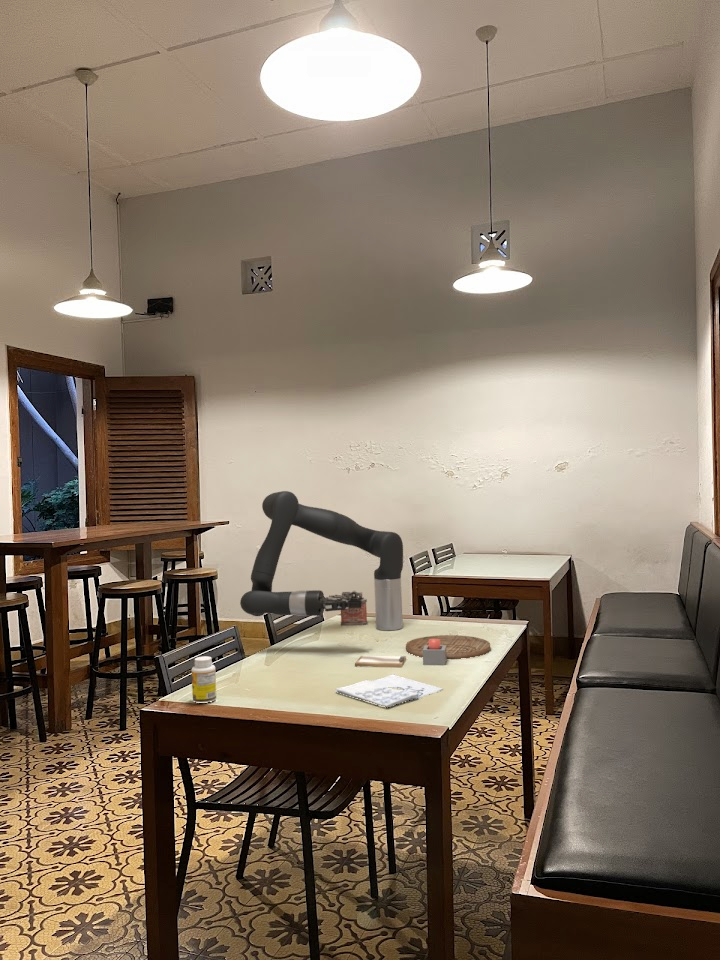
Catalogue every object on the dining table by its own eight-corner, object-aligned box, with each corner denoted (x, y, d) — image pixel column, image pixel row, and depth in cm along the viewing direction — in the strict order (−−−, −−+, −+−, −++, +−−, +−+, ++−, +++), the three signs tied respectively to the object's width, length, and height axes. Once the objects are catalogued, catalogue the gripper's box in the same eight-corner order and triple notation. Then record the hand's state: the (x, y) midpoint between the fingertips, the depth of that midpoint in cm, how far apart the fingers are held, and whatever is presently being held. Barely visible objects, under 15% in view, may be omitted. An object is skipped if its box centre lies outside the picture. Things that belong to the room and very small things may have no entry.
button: (429, 653, 205) (429, 638, 205) (441, 653, 204) (440, 638, 204) (428, 656, 201) (427, 641, 201) (440, 656, 201) (439, 641, 201)
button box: (425, 659, 206) (424, 645, 206) (446, 659, 205) (446, 645, 205) (423, 664, 200) (422, 650, 200) (445, 665, 199) (444, 650, 199)
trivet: (418, 639, 234) (418, 633, 234) (497, 643, 225) (496, 637, 225) (395, 658, 210) (395, 651, 210) (481, 662, 202) (481, 656, 202)
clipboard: (361, 658, 210) (361, 653, 210) (406, 659, 207) (405, 654, 207) (354, 666, 201) (354, 661, 201) (401, 667, 198) (401, 662, 198)
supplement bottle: (195, 698, 176) (194, 655, 176) (218, 697, 176) (217, 654, 176) (190, 705, 171) (188, 661, 171) (213, 704, 170) (212, 660, 170)
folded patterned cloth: (333, 695, 177) (333, 686, 177) (394, 678, 190) (394, 670, 190) (386, 712, 162) (385, 702, 162) (448, 693, 175) (448, 684, 175)
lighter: (368, 623, 219) (366, 589, 219) (367, 625, 215) (365, 591, 215) (341, 623, 220) (340, 590, 220) (340, 626, 216) (338, 592, 216)
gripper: (299, 594, 213) (357, 594, 210) (312, 586, 227) (366, 586, 224) (301, 620, 213) (358, 620, 210) (313, 610, 227) (367, 610, 224)
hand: (362, 602), depth 217 cm, fingers closed on lighter, 3 cm apart
